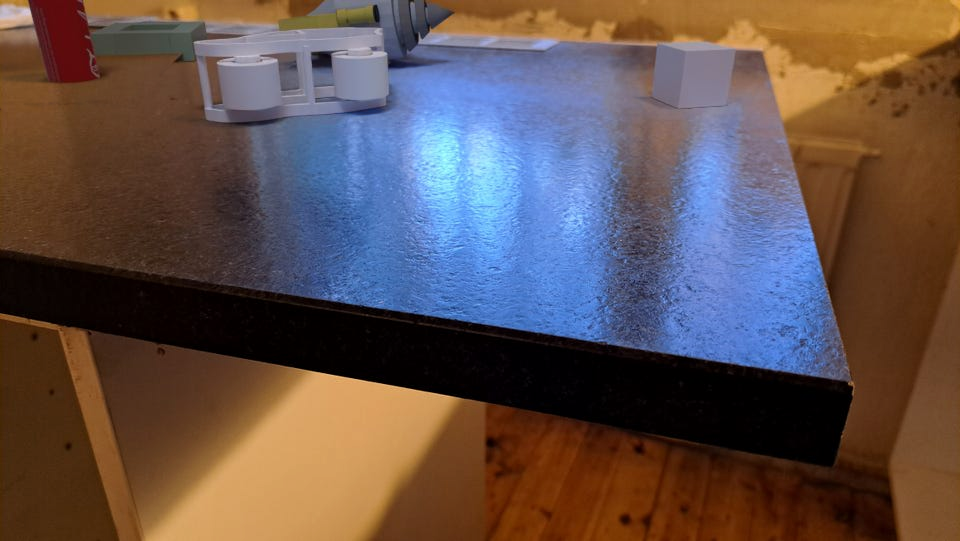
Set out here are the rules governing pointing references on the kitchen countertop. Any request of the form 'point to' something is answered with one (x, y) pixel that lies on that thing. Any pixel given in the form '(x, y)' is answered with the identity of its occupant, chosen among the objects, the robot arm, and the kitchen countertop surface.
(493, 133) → the kitchen countertop surface
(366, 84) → the wheeled car silhouette
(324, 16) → the ray gun
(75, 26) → the soda can
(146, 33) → the holder
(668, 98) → the gray cube
